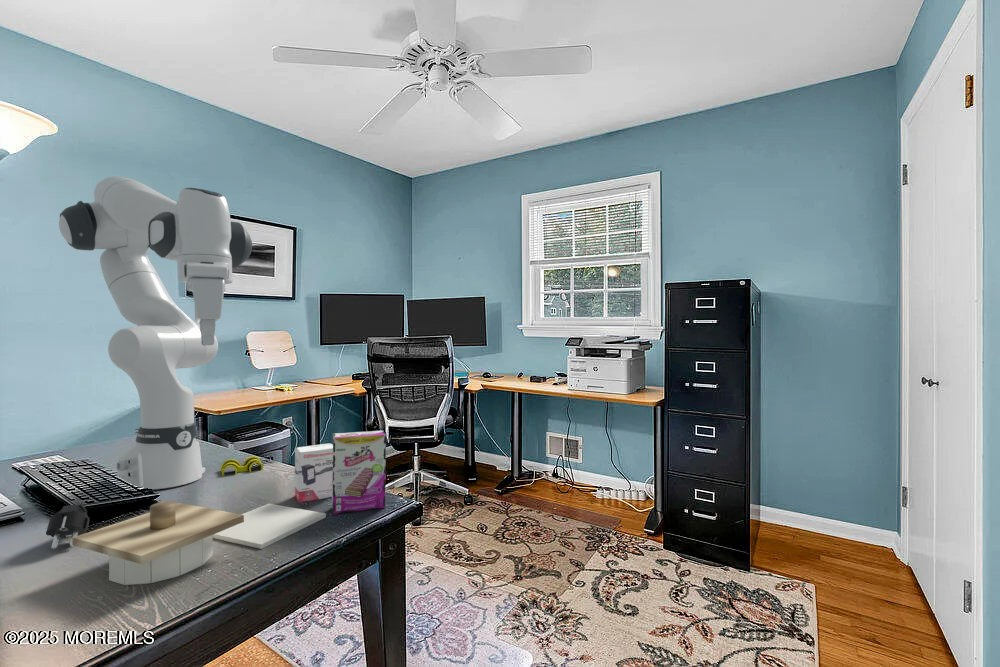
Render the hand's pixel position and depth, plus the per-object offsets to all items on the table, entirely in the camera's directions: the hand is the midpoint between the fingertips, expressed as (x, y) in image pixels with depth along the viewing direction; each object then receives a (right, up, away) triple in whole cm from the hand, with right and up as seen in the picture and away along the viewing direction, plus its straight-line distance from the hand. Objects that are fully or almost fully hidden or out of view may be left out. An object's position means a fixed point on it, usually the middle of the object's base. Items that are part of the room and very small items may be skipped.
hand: (207, 345), depth 93 cm
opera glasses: (-13, -37, +37) cm, 54 cm away
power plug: (-25, -38, +2) cm, 46 cm away
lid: (0, -31, -12) cm, 33 cm away
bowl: (0, -36, -12) cm, 38 cm away
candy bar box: (+25, -36, +13) cm, 46 cm away
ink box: (+13, -36, +21) cm, 44 cm away
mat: (+9, -36, +4) cm, 37 cm away
